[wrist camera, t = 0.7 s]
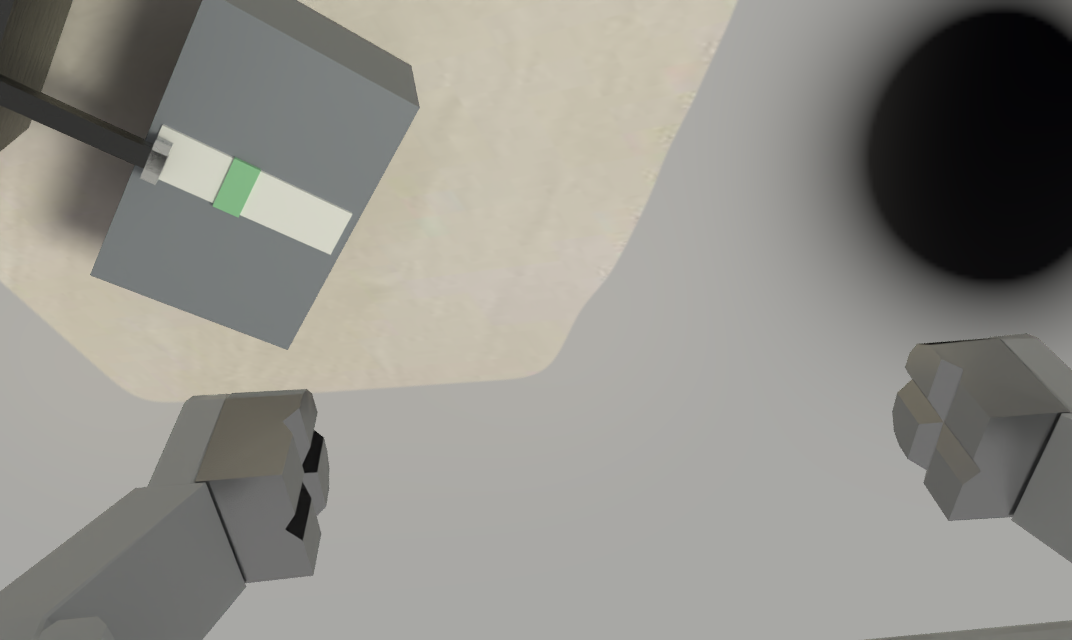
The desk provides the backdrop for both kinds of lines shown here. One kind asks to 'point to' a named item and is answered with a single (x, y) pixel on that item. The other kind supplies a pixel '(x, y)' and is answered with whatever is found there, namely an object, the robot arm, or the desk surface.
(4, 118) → the gauge plunger
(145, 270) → the gauge housing
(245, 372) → the desk surface
